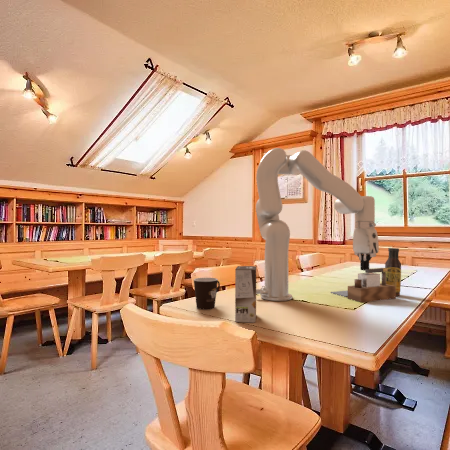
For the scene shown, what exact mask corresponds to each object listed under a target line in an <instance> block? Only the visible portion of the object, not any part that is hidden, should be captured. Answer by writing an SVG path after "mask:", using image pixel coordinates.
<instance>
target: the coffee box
mask: <svg viewBox="0 0 450 450" xmlns="http://www.w3.org/2000/svg"><path fill="white" fill-rule="evenodd" d="M234 272H235V274H234V275H235V279H234V280H235V281H234V282H235V283H234V284H235V285H234V286H235V287H234V289H235V291H234V292H235V294H234V295H235V297H234V298H235V301H234V303H235V305H234V306H235V307H234V308H235V309H234V311H235V312H234V313H235V315H234V316H235V317H234V322H236V323H256V318H257V317H256V316H257V294H256V289H257V266H256V265H254V266H253V265H237V267H235V271H234Z"/></svg>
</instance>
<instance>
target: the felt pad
mask: <svg viewBox="0 0 450 450" xmlns="http://www.w3.org/2000/svg"><path fill="white" fill-rule="evenodd" d="M332 293H333V295H336V294H337V296H340V295H341V296H340V297H343V296H344V298H348V289H347V290H338V291H330V294H332Z"/></svg>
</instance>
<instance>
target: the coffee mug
mask: <svg viewBox="0 0 450 450" xmlns="http://www.w3.org/2000/svg"><path fill="white" fill-rule="evenodd" d="M193 285H194V286H193V287H194V294H195V303H196V309H198V310H204V311H207V310H213V309H215V307H216V299H217V298H216V297H217V293H218V292H219V289H220V288H221V283H220V281H219V279H218V278H216V277H197V278H194V279H193Z"/></svg>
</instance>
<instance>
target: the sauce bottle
mask: <svg viewBox="0 0 450 450" xmlns="http://www.w3.org/2000/svg"><path fill="white" fill-rule="evenodd" d="M399 253H400V248H397V247H388V258H387V260H386V261H385V263H384V265H385V266H384V268H388V272H386V284H388V285H393V286H396V297H398V296H400V294H401V284H402V283H401V282H402V263H401V261H400V259H399Z"/></svg>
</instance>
